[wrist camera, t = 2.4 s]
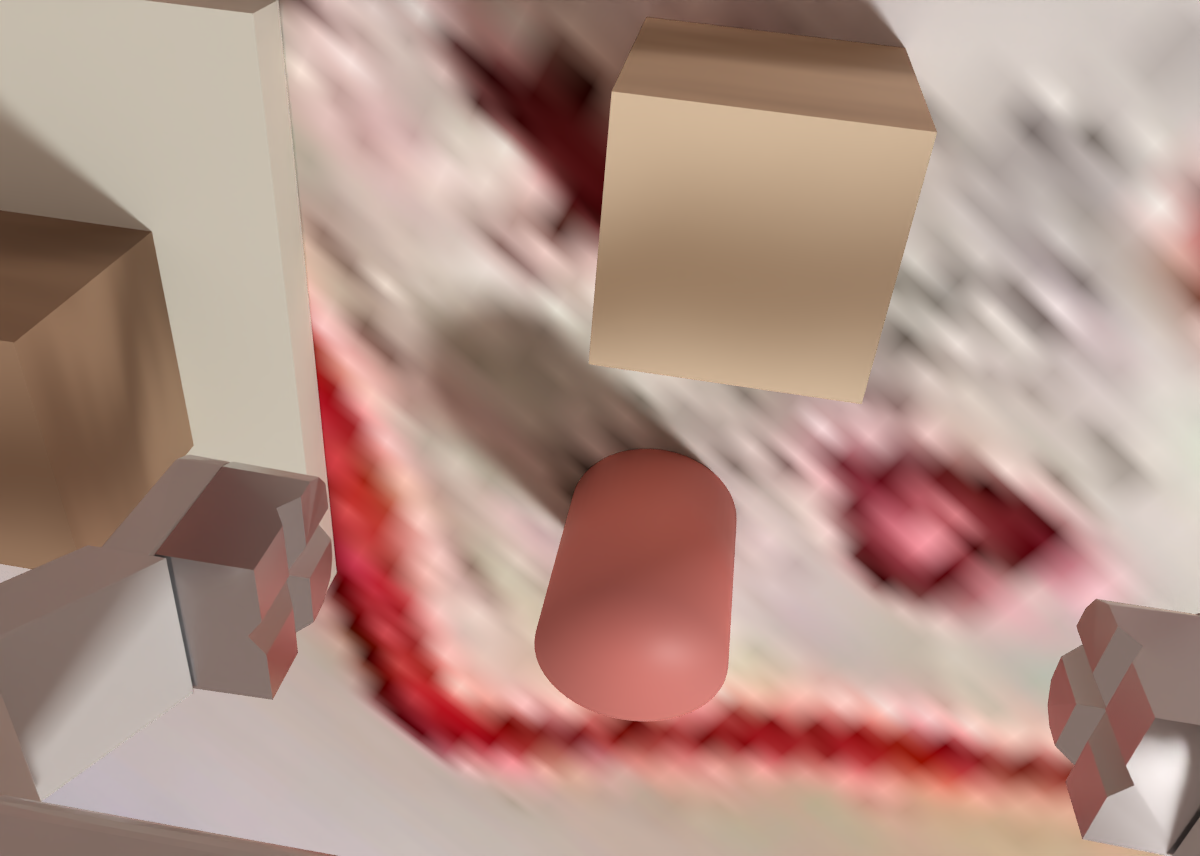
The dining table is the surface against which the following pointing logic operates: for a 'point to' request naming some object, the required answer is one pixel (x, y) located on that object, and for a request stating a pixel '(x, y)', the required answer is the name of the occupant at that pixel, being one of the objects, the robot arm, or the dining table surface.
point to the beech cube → (756, 206)
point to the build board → (180, 193)
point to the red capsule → (641, 588)
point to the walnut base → (81, 384)
